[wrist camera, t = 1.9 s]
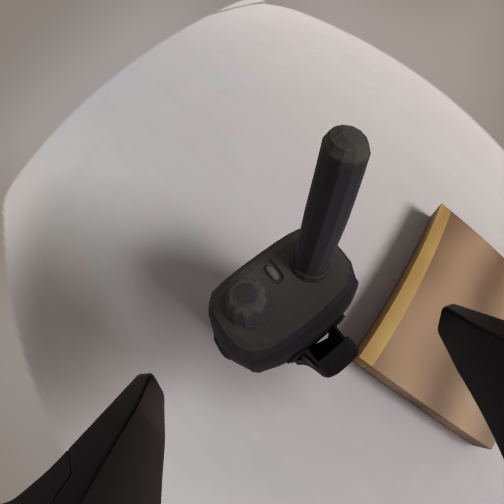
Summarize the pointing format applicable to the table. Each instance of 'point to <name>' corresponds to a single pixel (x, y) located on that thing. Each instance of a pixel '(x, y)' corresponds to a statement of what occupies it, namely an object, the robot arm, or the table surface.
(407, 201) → the table surface
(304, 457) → the table surface
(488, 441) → the tan flat wooden block
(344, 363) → the two-way radio
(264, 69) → the table surface
